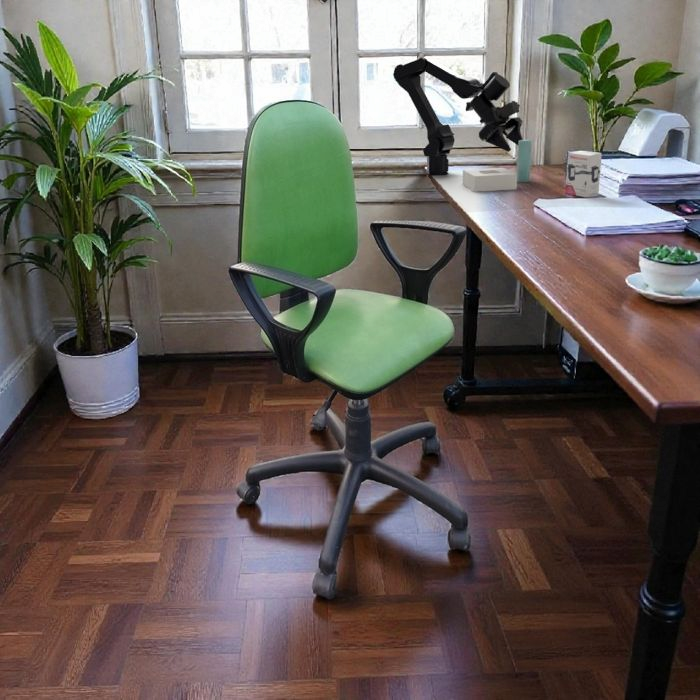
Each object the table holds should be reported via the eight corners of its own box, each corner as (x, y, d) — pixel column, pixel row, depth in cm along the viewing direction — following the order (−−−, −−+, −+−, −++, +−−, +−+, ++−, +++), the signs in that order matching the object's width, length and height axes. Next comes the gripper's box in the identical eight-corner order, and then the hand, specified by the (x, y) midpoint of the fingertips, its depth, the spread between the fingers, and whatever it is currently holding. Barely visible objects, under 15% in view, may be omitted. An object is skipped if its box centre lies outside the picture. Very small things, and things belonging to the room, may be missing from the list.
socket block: (474, 191, 226) (474, 176, 224) (462, 184, 238) (462, 169, 236) (516, 189, 227) (517, 174, 226) (502, 182, 239) (503, 167, 237)
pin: (519, 182, 237) (521, 141, 233) (514, 180, 241) (516, 140, 236) (531, 182, 238) (533, 141, 233) (527, 180, 241) (529, 139, 237)
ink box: (564, 193, 219) (567, 151, 214) (576, 191, 221) (579, 150, 217) (586, 197, 212) (590, 154, 207) (599, 195, 214) (603, 152, 210)
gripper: (488, 94, 228) (520, 133, 225) (518, 90, 241) (548, 127, 238) (465, 121, 236) (495, 159, 233) (495, 115, 249) (524, 152, 246)
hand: (517, 148), depth 237 cm, fingers open, 9 cm apart
